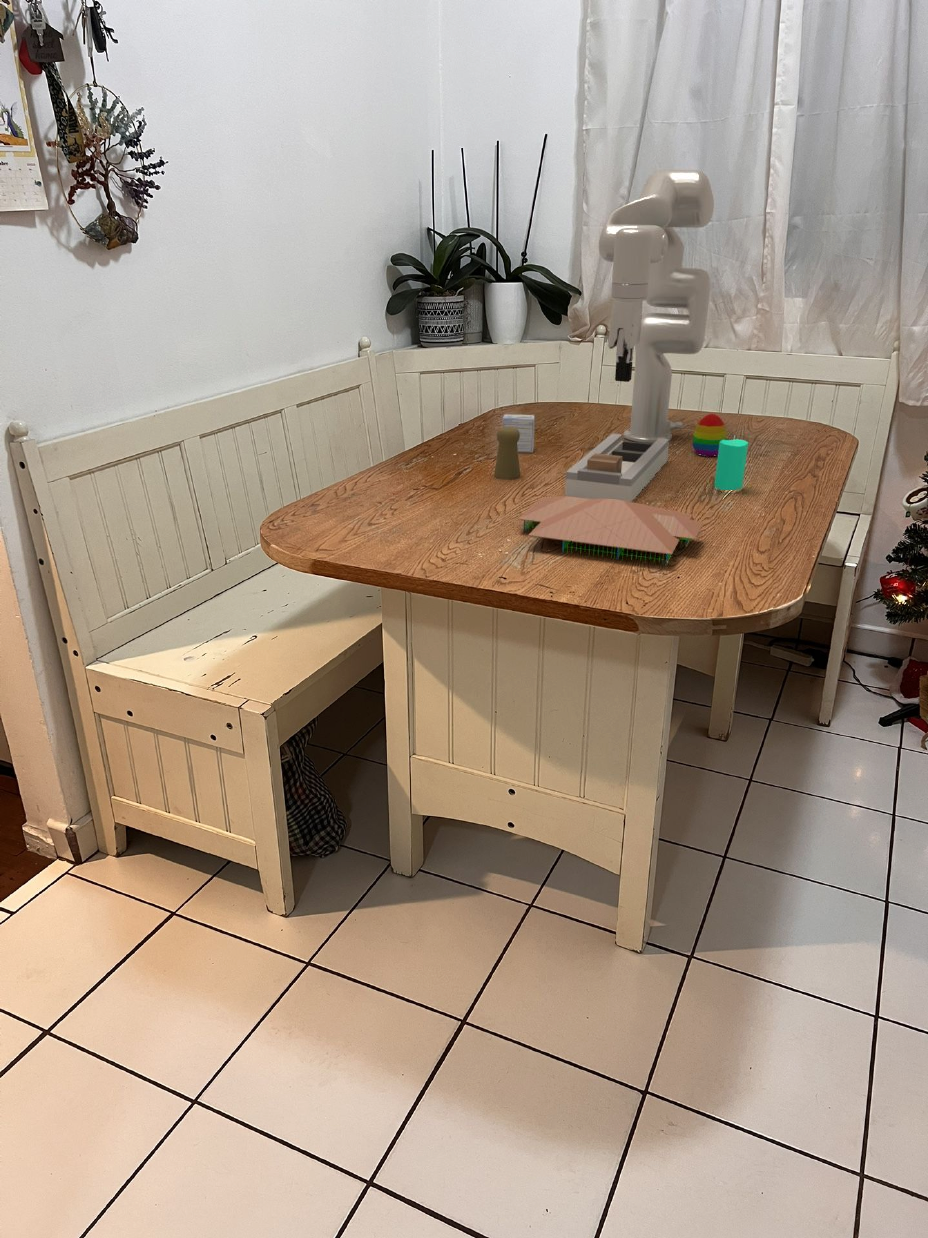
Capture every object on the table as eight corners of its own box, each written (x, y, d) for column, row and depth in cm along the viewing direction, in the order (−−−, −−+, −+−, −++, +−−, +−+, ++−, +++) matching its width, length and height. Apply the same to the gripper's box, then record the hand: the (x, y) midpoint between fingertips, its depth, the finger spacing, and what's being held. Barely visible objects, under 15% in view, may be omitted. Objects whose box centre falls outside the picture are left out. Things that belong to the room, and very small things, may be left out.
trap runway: (610, 455, 229) (612, 431, 226) (667, 461, 224) (669, 436, 221) (564, 496, 197) (566, 469, 194) (629, 505, 192) (631, 476, 189)
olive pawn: (523, 473, 213) (525, 425, 209) (516, 480, 208) (517, 431, 204) (498, 470, 215) (499, 423, 211) (490, 477, 210) (491, 429, 205)
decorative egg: (713, 449, 235) (717, 409, 231) (731, 457, 228) (736, 416, 224) (684, 451, 233) (689, 411, 229) (702, 459, 226) (707, 418, 222)
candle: (744, 487, 204) (751, 433, 199) (739, 494, 199) (746, 439, 194) (716, 483, 207) (723, 430, 202) (711, 490, 202) (717, 436, 197)
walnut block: (594, 471, 201) (595, 453, 199) (621, 474, 198) (622, 456, 197) (586, 478, 196) (587, 459, 194) (614, 481, 193) (615, 462, 192)
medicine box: (533, 448, 234) (535, 414, 231) (533, 453, 230) (534, 418, 227) (502, 447, 235) (503, 413, 231) (501, 452, 231) (502, 417, 227)
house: (686, 573, 158) (691, 528, 155) (504, 548, 169) (505, 506, 166) (705, 532, 178) (710, 491, 174) (540, 512, 189) (542, 473, 185)
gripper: (620, 287, 201) (614, 372, 209) (602, 295, 188) (597, 386, 196) (655, 288, 198) (647, 375, 206) (638, 296, 186) (631, 388, 194)
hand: (623, 380), depth 201 cm, fingers closed
